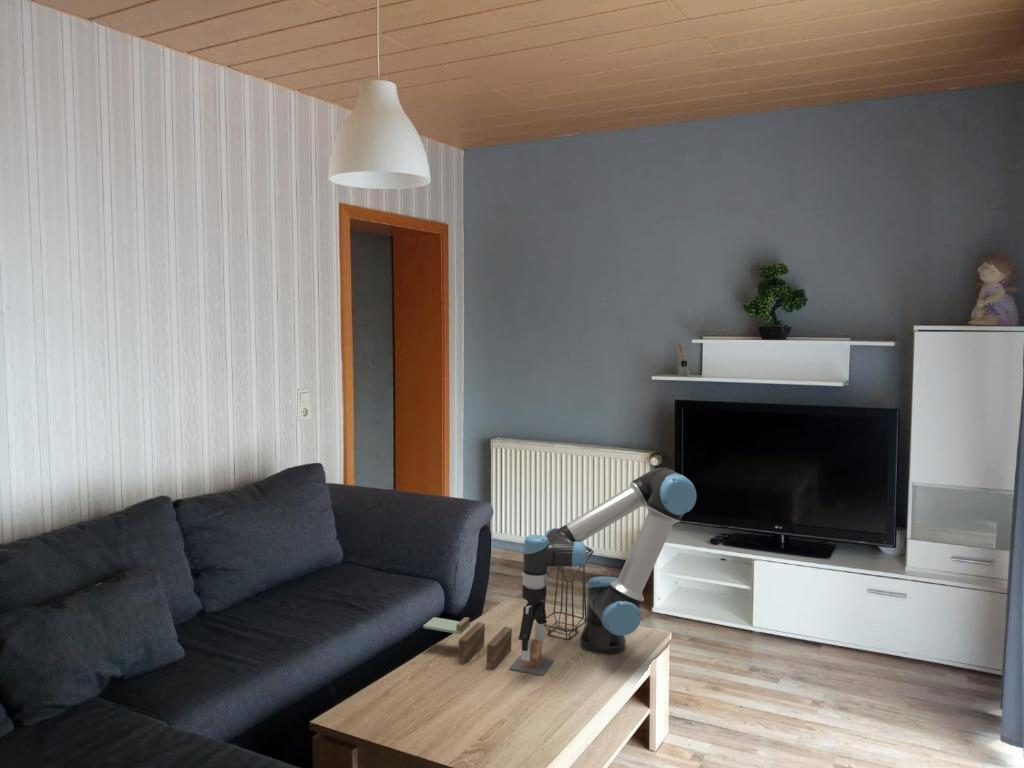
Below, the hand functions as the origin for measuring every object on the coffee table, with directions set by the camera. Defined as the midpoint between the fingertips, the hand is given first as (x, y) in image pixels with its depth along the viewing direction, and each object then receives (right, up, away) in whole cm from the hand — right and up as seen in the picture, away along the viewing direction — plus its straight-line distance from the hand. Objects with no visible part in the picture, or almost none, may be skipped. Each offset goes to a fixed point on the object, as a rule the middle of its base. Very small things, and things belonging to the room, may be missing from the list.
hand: (532, 651), depth 257 cm
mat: (0, -5, 0) cm, 5 cm away
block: (0, -4, 0) cm, 4 cm away
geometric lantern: (+11, -3, +26) cm, 28 cm away
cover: (-28, +5, +10) cm, 30 cm away
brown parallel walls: (-15, -4, +7) cm, 17 cm away
